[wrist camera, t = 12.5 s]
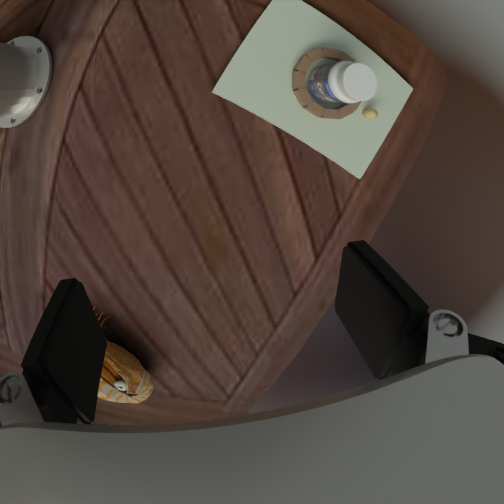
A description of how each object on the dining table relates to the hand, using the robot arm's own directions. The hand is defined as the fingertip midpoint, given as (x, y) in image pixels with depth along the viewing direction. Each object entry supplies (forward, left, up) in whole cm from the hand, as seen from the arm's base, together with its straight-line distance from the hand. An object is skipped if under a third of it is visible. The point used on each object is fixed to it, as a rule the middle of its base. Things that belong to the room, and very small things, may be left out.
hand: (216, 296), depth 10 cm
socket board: (+8, +15, -27) cm, 32 cm away
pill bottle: (+8, +15, -26) cm, 31 cm away
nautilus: (-1, -36, -27) cm, 45 cm away
